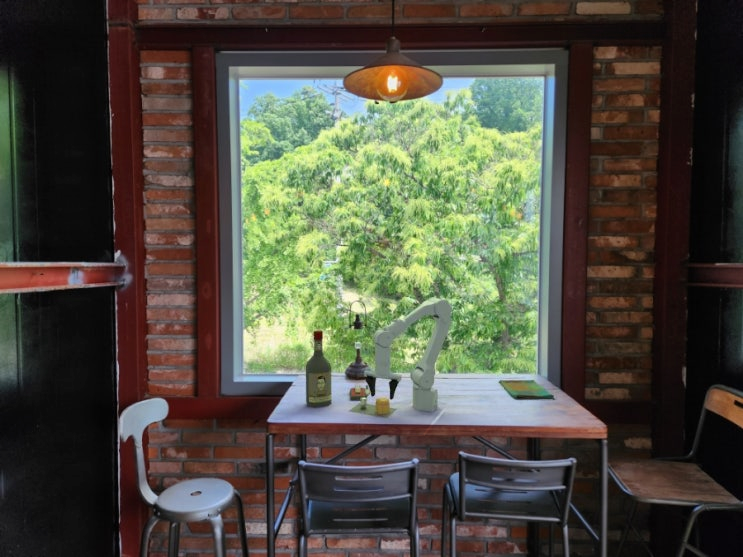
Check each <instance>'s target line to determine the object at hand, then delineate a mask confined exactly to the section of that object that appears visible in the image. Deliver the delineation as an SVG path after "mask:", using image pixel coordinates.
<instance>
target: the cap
mask: <svg viewBox="0 0 743 557" xmlns="http://www.w3.org/2000/svg"><path fill="white" fill-rule="evenodd" d="M390 404H391V402H390V398H387V397H378V398H376V399H375V405H376V413H378V414H387V413H389V412H390V408H391V407H390V406H391V405H390Z"/></svg>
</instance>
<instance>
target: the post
mask: <svg viewBox="0 0 743 557" xmlns="http://www.w3.org/2000/svg"><path fill="white" fill-rule="evenodd" d="M367 400H368V398H366V397H362V398H360V402H359V403H360V409H363V410H364V409H367V404H368V402H367Z"/></svg>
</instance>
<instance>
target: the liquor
mask: <svg viewBox="0 0 743 557" xmlns="http://www.w3.org/2000/svg"><path fill="white" fill-rule="evenodd" d="M323 334H324V333H323V330H314V331H313V341H314V342H313V353H312V356H311V357H310V359H309V360H308V361H307V362H306V364H305V402H306V405H307V406H308V407H309V408H315V409H316V408H323V407H329V406H330V405H332V404H333V403H332V365H331V362H329V361H328V359H327V358H326V357H325V356H324V350H323V340H324V335H323Z"/></svg>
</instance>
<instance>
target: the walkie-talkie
mask: <svg viewBox="0 0 743 557" xmlns="http://www.w3.org/2000/svg"><path fill="white" fill-rule="evenodd" d="M369 395H370V396H371V392H370V389H369V386H368V384H366V385H365V388H364V387H361V385H355V386H354V387H351V388H350V390H349V398H350V401H359V400H360V398H362V397H366V398H367V397H368V396H369ZM367 399H368V398H367Z"/></svg>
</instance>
